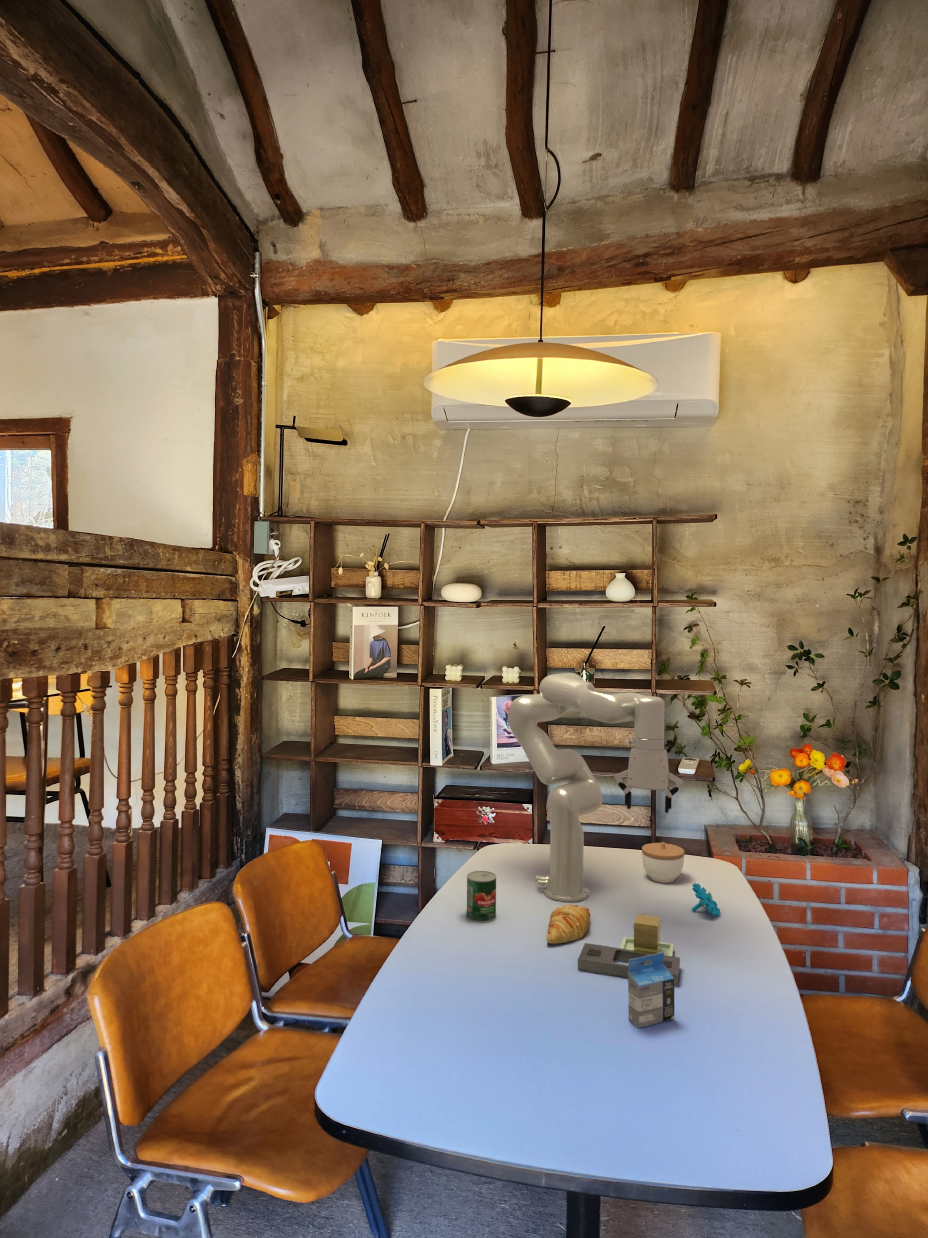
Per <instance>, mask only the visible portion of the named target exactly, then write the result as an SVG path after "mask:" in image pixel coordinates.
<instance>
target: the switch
mask: <svg viewBox="0 0 928 1238" xmlns="http://www.w3.org/2000/svg"><path fill="white" fill-rule="evenodd" d="M649 955H654V953H647V952H641V951H634V950H628V949H621V948H620V947H614V946H608V945H600V944H595V943H590V942H589V943H588V942H585V943H584V945H583V946H582V949H581V951H580V953H579V956H578V959H577V971H583V972H588V973H589V972H590V973H594V974H601V975H606V976H613V977H619V978H624V979H625V978H626V979H628V971H629V964H624V963H619V962H618V963H617V962H616V961H620V962H626V963H629V960H630V959H635V958H639V957H644V956H649ZM650 963H652V961H648V960H646V961H645V962H642V963H641V964H640V965H645V964H650ZM663 964H664V965H665V967H666V968H667V969H668V971H669V972H670V973H671V975H672V976H673V978H674V987H678V985H679V984H678V982H679V976H680V972H681V971H680V969H681V957H679V956H674V955H673V956H667V955H664V960H663Z"/></svg>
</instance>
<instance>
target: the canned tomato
mask: <svg viewBox="0 0 928 1238" xmlns="http://www.w3.org/2000/svg"><path fill="white" fill-rule="evenodd" d="M496 914H497V875H496V873H494V872H493V871H487V870H474V871H471V872H469V873H467V875H466V919H467V920H468V921H471V922H473V923H480V924H481V923H482V924H483V923H489V922H493V921H494V920H496V919H497V915H496Z"/></svg>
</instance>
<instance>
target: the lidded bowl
mask: <svg viewBox="0 0 928 1238" xmlns="http://www.w3.org/2000/svg"><path fill="white" fill-rule="evenodd" d="M641 853H642V854H641V857H642V858H641V859H642V865H643V868H644V871H645V872H646V874H647V875H648V877H650V879H651V881H654V882H657V883H662V884H664V883H665V884H668V883H669V884H670V883H673V882H675V879H677V878H678V877H679V876H680V875H681V873H682V872H683V867H684V861H685V850H684V849H683V848H682V847H681V846H678V845H676V844H671V843H666V842H664V841H663V842H652V843H646V844H644V845H642V846H641Z"/></svg>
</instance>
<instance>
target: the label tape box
mask: <svg viewBox="0 0 928 1238" xmlns="http://www.w3.org/2000/svg"><path fill="white" fill-rule="evenodd" d="M646 960H648V961H652V963H650V964H645V965H644V964H641V963H642V962H645V961H646ZM663 960H664V953H659V954H654V955H649V956H644V957H639V958H635V959H630V960H629V962H628V965H629V971H628V978H627V983H628V984H627V989H628V991H627V996H628V999H627V1002H628V1003H627V1004H628V1021H630V1022H631V1023H632V1024H633V1025H635V1026H636V1027H637V1028H639V1029H640V1028H644V1027H648V1026H652V1025H656V1024H659V1023H663V1022H668V1021H672V1020H674V1019H675V986H674V978H673V976H672V975H671V973H670V972H669V971H668V969H667V968H666V967H665V965H664V964H663Z"/></svg>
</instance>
